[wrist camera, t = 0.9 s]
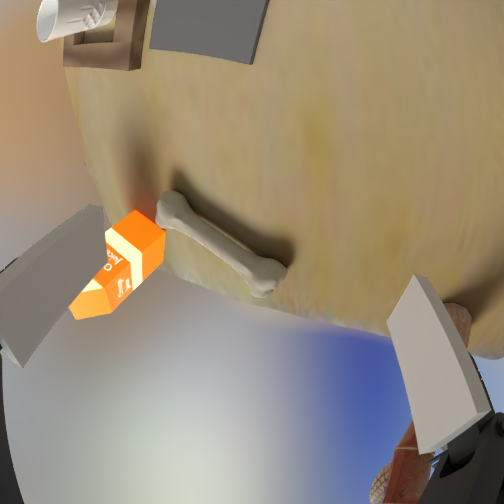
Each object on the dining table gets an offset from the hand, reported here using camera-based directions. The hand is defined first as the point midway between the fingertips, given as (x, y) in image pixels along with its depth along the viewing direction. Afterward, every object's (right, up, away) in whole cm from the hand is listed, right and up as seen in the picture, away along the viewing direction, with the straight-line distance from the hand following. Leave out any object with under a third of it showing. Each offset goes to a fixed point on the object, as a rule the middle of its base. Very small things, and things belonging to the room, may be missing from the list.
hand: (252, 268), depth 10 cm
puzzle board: (-21, +36, +11) cm, 43 cm away
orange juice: (-19, +4, +38) cm, 42 cm away
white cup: (-21, +36, +11) cm, 43 cm away
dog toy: (-4, +3, +28) cm, 28 cm away
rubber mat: (-5, +27, +7) cm, 28 cm away
